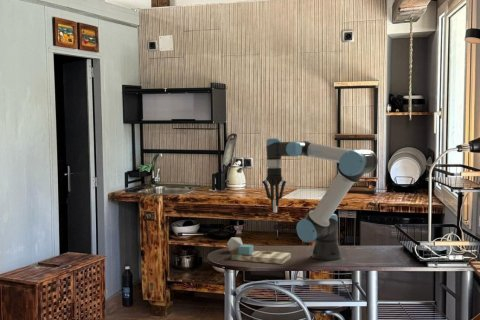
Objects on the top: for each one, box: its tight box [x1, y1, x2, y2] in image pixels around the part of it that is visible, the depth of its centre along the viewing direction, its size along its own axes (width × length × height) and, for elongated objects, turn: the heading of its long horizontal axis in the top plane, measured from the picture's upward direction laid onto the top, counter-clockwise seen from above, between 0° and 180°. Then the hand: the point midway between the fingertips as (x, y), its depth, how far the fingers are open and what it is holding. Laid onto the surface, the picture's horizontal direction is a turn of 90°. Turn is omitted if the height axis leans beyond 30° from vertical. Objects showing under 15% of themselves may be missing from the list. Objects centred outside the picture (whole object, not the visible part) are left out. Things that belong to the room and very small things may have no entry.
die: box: [226, 236, 243, 252], centre depth 297 cm, size 8×9×10 cm
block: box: [239, 243, 255, 255], centre depth 282 cm, size 6×6×4 cm
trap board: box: [229, 245, 292, 265], centre depth 279 cm, size 28×14×5 cm, turn 68°
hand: (275, 212), depth 285 cm, fingers closed
